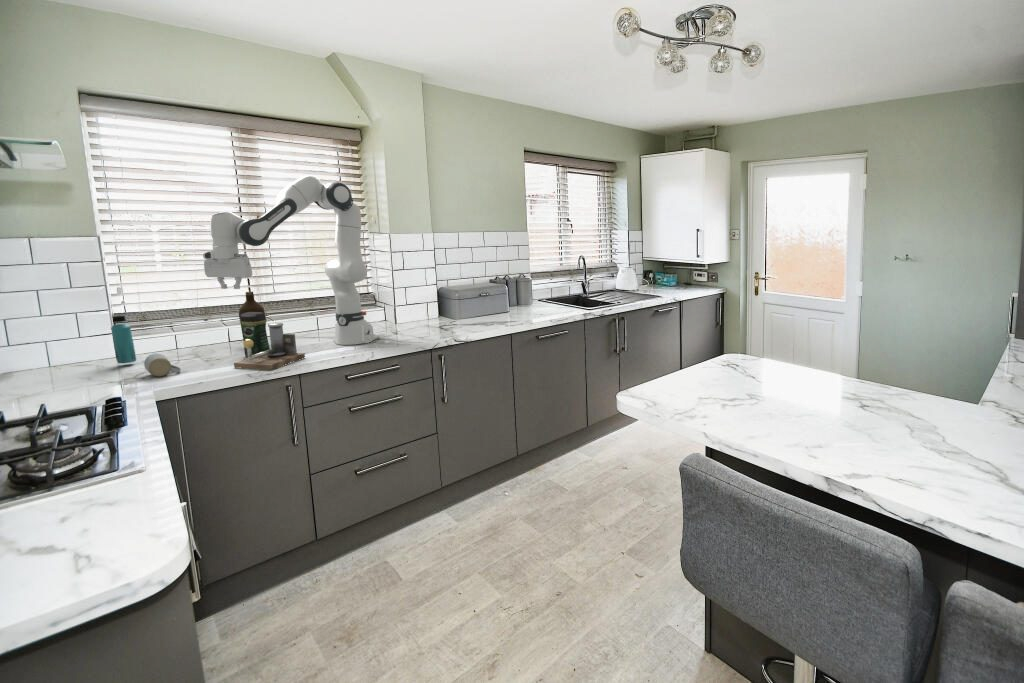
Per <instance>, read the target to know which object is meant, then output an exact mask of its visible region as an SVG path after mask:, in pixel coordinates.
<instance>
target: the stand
mask: <svg viewBox="0 0 1024 683" xmlns="http://www.w3.org/2000/svg"><path fill="white" fill-rule="evenodd" d="M283 335H284V345H285V351H286V355H284V356H279V357H268V356H267V355H265V356H262V357H258V358H255V359H252V360H249V359H248V357H247V358H244V359H241V360H239V361H238V360H237V361H235V362H233V367H241V368H240V369H244V368H249V370H259V369H263V370H262V371H273V370H277V369H279V368H281V366H282V367H284V366H286V365H285V364H287V365H289V364H288V363H290V362H293V361H295V362H298V361H300V360H299V359H301V360H303V359H302V358H304V357H305V358H306V354H305V353H304V352H297V342H296V335H295V333H283ZM305 358H304V359H305ZM297 360H298V361H297ZM293 363H294V362H293ZM290 364H291V363H290ZM283 365H284V366H283ZM278 367H279V368H278Z"/></svg>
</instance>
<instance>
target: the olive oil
mask: <svg viewBox="0 0 1024 683" xmlns="http://www.w3.org/2000/svg"><path fill="white" fill-rule="evenodd" d="M247 312H263V313H264V314H265V312H266V310H265V309H264V308H263V306H262V305H261V304H260V303H258V301H256V300H255V294H254V291H245V302H244V303H243V304H242V305H241V306H240V307H239V310H238V318H239V324H240V328H241V334H242V340H243V341H242V342H244V335H243V328H242V325H241V314H242V313H247ZM265 315H266V314H265Z"/></svg>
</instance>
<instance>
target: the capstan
mask: <svg viewBox="0 0 1024 683" xmlns="http://www.w3.org/2000/svg"><path fill="white" fill-rule="evenodd" d="M283 326H284V323H283V322H272V323H268V324H267V327H268V330H269V339H270V340H269V341H270V350H267V351H264V352H261V353H257V354H254V355H252V352H251V348H252V347H253V345H254V342H253V341H252V340H251V339H246V340H245V341H242V342H243V343H242V345H243V348H244V347H245V348H247V353H248V356H247V358H248V359H249V360H252V359H255V358H258V357H262V356H265V355H267V356H268V357H279V356H284V355H286V351H285V345H284V335H283V334H284V329H283Z"/></svg>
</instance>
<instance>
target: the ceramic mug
mask: <svg viewBox="0 0 1024 683" xmlns="http://www.w3.org/2000/svg"><path fill="white" fill-rule="evenodd" d="M143 362H144V363H143V364H144V366H143V367H144V369H145V370H146V371H147V372H148V373H149V374H150V375H151V376H153V377H159V378H160V377H161V376H162V377H165V376H167V375H168V374H169V373H171V372H172V373H175V374H176V373H178V372H179V373H180V372H181V370H182V368H181V367H179V366H177V365H174V364H172V363H171V361H170V360H169V359H168V358H167V357H166V356H165V355H164V354H162V353H151V354H150V355H148V356H147V357H146V358H145V359H144V361H143ZM162 377H161V378H162Z"/></svg>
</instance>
